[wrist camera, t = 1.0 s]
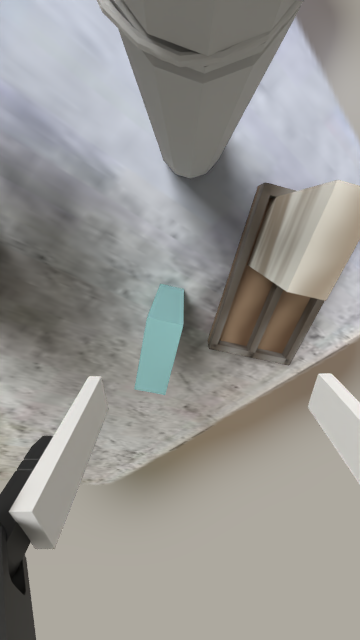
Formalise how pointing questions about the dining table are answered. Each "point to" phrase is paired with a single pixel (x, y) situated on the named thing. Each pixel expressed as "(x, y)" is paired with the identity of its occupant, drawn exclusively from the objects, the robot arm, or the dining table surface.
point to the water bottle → (198, 67)
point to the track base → (285, 268)
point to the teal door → (161, 340)
